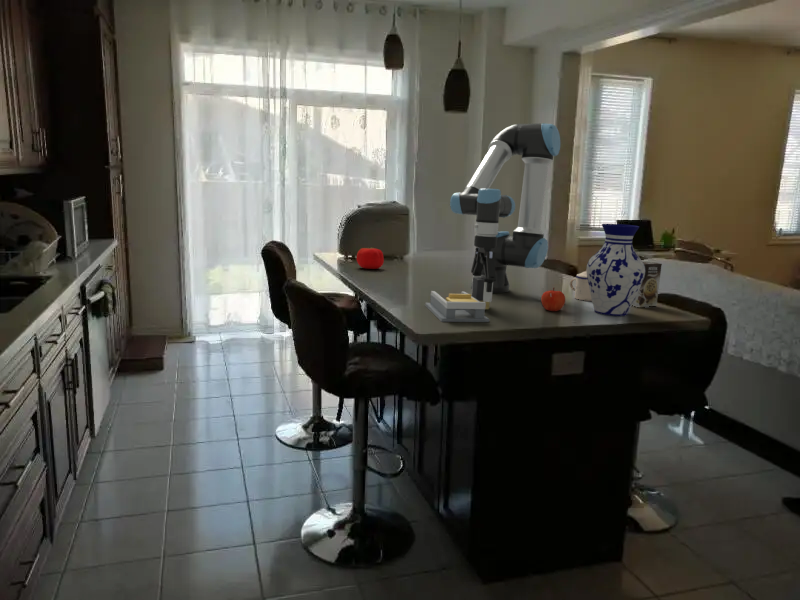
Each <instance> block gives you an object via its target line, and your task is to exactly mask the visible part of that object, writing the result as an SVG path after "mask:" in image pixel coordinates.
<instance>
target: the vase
mask: <svg viewBox="0 0 800 600" xmlns="http://www.w3.org/2000/svg"><path fill="white" fill-rule="evenodd" d="M601 226H602V228H603V231H604V237H605V240H604V244H603V245H602V246H601V248H600V249H599V250H598V251H596V253H595V254H594V255H592V256H591V257H590V258H589V260H588V262H587V265H586V270H587V278H588V284H589V289H590V293H591V298H592V301H591V303H592V307H593V310H594V313H597V314H599V315H605V316H612V317H625V315H626V316H628V314H629V312H630V310H631V307H633V306H632V304H633V301H634V299H635V297H636V295H637V293H638V291H639V289H640V286H641V284H642V281H643V279H644V276H645V266H644V263H643V262H644V261H643V260H642V259H641V258H640V257H639V255H638V254H637V252H636V251H635V249H634V246H633V238H634V236H635V234H636V232H638V230H639V228H640V226H638V225H632V224H623V223H622V224H621V223H620V224H619V223H601Z"/></svg>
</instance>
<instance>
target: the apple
mask: <svg viewBox="0 0 800 600" xmlns="http://www.w3.org/2000/svg"><path fill="white" fill-rule="evenodd" d="M540 300H541V304H542V307H543V308H544V309H545V310H546V311H548V312H549V311H550V312H558V311H560V310H561V309H562V308H563V307H564V306H565V304H566V296H565V294H564V293H563V292H562V291H560V290H555V287H553V288H552V289H551V290H546V291H544V292H543V294H542V295H541V298H540Z"/></svg>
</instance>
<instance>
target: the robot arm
mask: <svg viewBox="0 0 800 600" xmlns="http://www.w3.org/2000/svg"><path fill="white" fill-rule="evenodd" d="M560 150H561V136H560V131H559V130H558V127H557V126H556V125H555V124H554V123H544V122H543V123H540V122H539V123H516V124H514V123H513V124H511V125H508V126H507V127H504V128H503V130H500V131H499V133H497V134H496V135H495V136H494V137H493V138H492V139H491V141H490V143H489V144H488V147H487V153H485V155H484V157H483V159H482V161H481V162H480V164H479V166H478V167H477V169H476V170H475V172H474V173H473V174H472V177H471V178H470V179H469V181H468V182H467V184H466V185H465V188H464V189H463V190H462V192H460V191H459V192H454V193H453V194H452V195H451V197H450V201H449V202H450V203H449V205H450V209H451V212H452V213H454V214H457V215H463V216H464V215H465V216H475V217H476V219H475V224H474V225H473V228H475V230H474V231H475V234H476V235H475V236H474V239H473V240H474V242H473V243H474V244H473V246H474V247H475V252H474V257H473V261H472V266H471V271H470V272H471V273H472V278H473V277H481V275H485V279H484V294H483V302H490V303H492V298H493V293H494V294H495V293H496V294H497V293H499V294H503V293H509V292H510V281H509V277H508V274H507V266H510V267H518V268H525V269H538V268H540V267H541V266H542V265H543V264H544V261H546V260H545V259H546V257H547V254H548V250H549V245H548V243H549V242H548V240H547V239H546V238H545V237H544V235H545V234H544V232H543V231H542V230H541V226H542V218H543V217H542V216H543V211H544V203H545V195H546V186H547V178H548V169H549V166H550V164H552V163H553V162H554V157H556V156H558V155H559V154H560ZM513 156H521V160H522V161H523V163H524V169H523V178H522V188H521V196H520V203H519V204H520V205H519V211H518V212H519V213H518V222H517V226H516V228H514V230H513V231H512V235H511V234H510V231H499V225H500V224H499V223H500V221H499V220H500V218H503V219H504V218H508V217H511V215H512V214H513V213H515V210H516V202H515V200H514V198H513V197H511V196H510V195H507V194H501V193H502V191H501V189H498V188H491V186H492V185H493V182H494V181H495V180H496V178H497V175H498V174H499V173H500V171H501V169H502V168H503V166H504V164H505V163H506V162H508V161H509V160H510V159H511V158H512V157H513ZM472 286H473V279H472V280H471V285H470V289H471V290H472Z"/></svg>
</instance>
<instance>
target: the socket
mask: <svg viewBox="0 0 800 600" xmlns="http://www.w3.org/2000/svg"><path fill="white" fill-rule="evenodd" d="M460 294H469V293H468V292H466V291H461V293H460ZM471 298H474V297H472V295H471ZM474 299H475V298H474ZM475 300H476V301H478V300H477V299H475ZM424 306H425V307H426V308H427V310H429V311H430V312H431V313H432V314H433V315H434V316H435V317H436V319H438V320H439V321H440V322H442V323H443V322H444V323H446V322H447V323H448V322H450V323H451V322H453V323H490V318H489V317H487V316H486V315H485V314H486V313H485V311H486V309H485V306H486V303H485V302H480V301H478V302H447V301H446V298H444V297H442V296H441V295H440V294H439V293H438V292H436V291H435V290H431V291H430V298H429V302H425V303H424Z"/></svg>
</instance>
